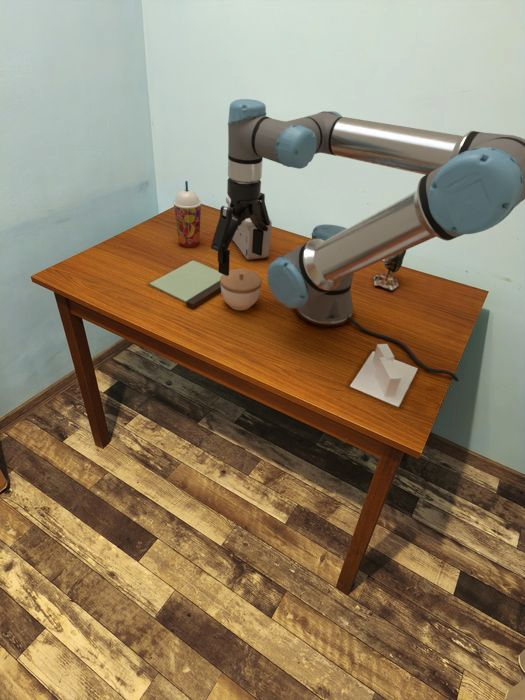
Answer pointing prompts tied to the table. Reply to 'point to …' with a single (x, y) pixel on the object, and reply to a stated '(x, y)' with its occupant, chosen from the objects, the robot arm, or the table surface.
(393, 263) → the plant with pod
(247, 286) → the trinket box
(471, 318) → the table surface
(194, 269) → the mat
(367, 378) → the napkin holder
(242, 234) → the radio
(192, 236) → the smoothie
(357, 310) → the table surface
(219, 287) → the divider
